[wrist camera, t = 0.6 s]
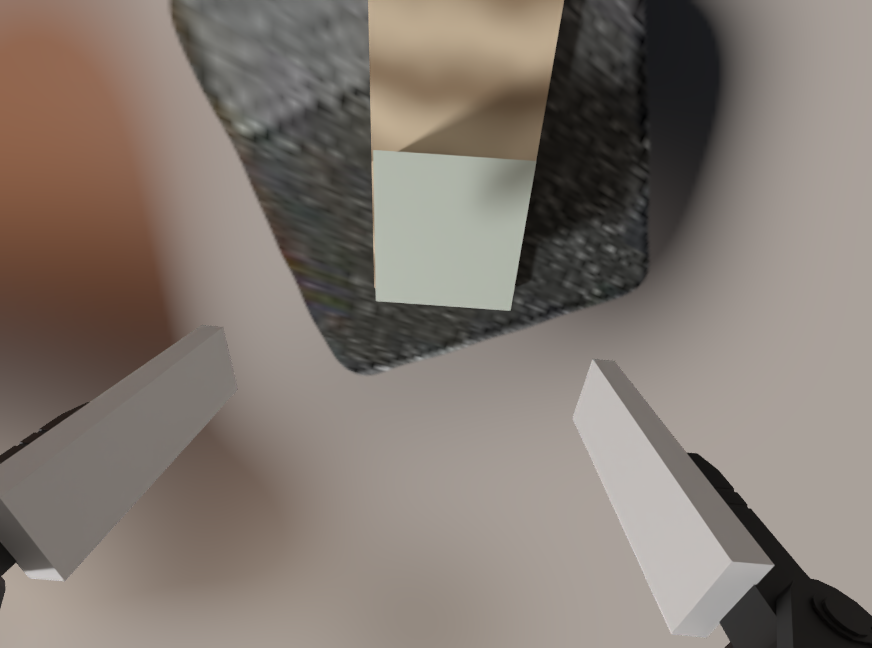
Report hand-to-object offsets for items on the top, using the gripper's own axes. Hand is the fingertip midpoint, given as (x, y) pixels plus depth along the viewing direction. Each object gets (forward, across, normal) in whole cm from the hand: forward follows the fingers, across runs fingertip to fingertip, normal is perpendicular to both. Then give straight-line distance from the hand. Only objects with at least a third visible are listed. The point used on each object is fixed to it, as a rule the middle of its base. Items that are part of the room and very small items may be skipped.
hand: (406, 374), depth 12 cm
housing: (+20, +1, +3) cm, 20 cm away
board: (+22, +1, +7) cm, 23 cm away
